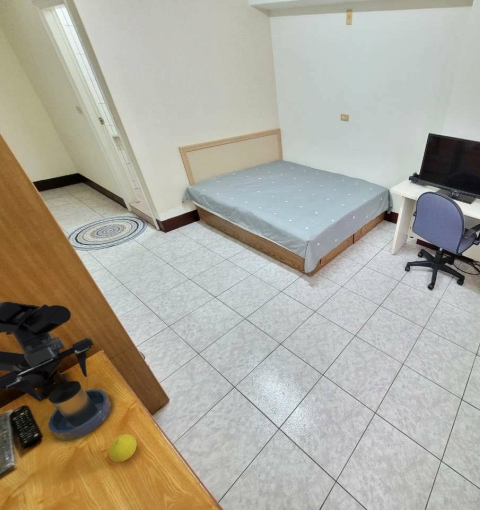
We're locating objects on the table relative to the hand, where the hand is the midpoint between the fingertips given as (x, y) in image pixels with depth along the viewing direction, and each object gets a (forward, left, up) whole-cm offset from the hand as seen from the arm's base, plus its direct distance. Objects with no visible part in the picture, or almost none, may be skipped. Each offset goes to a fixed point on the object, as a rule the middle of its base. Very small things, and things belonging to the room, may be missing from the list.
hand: (64, 388), depth 72 cm
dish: (+2, 0, -12) cm, 12 cm away
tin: (+2, 0, -12) cm, 12 cm away
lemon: (+22, +5, -12) cm, 26 cm away
